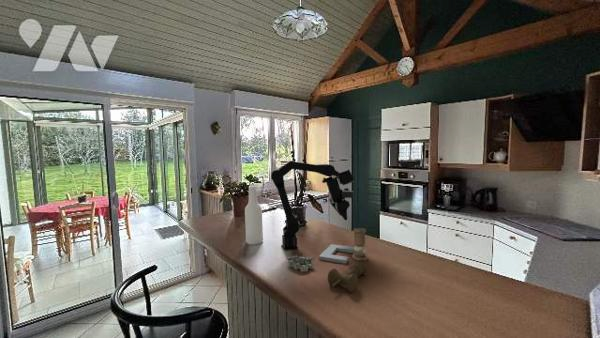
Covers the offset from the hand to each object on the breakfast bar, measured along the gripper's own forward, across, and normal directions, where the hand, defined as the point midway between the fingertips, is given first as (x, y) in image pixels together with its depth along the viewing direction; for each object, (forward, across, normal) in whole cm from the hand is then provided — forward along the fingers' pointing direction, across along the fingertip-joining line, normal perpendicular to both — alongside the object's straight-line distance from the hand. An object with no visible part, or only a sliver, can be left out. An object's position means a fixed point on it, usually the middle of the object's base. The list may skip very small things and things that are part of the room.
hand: (343, 217), depth 135 cm
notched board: (+11, -13, +10) cm, 20 cm away
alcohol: (0, +10, +47) cm, 49 cm away
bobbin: (+14, -18, +2) cm, 23 cm away
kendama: (+11, -39, +13) cm, 42 cm away
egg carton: (+6, -22, +28) cm, 36 cm away
